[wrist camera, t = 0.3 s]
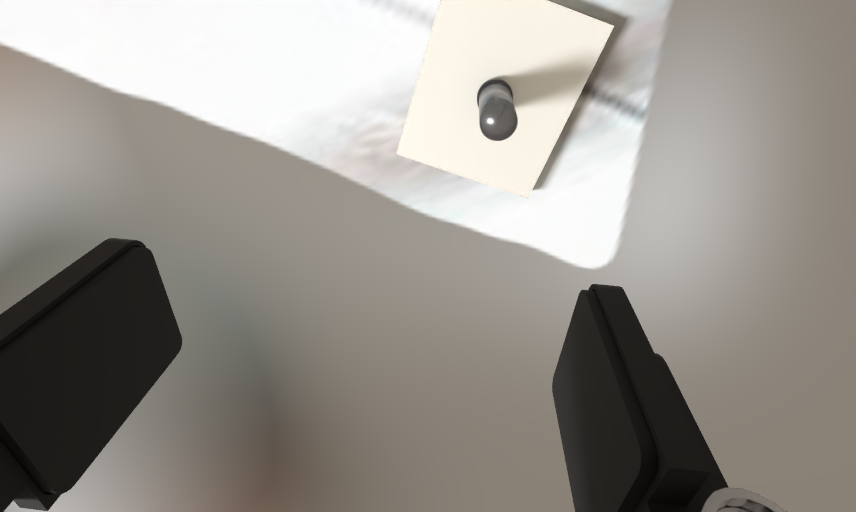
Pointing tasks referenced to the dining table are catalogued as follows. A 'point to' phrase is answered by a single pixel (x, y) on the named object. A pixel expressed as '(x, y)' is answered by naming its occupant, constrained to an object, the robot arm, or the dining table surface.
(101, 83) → the dining table surface
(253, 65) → the dining table surface
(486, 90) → the steel post
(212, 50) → the dining table surface
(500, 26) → the base plate
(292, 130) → the dining table surface
